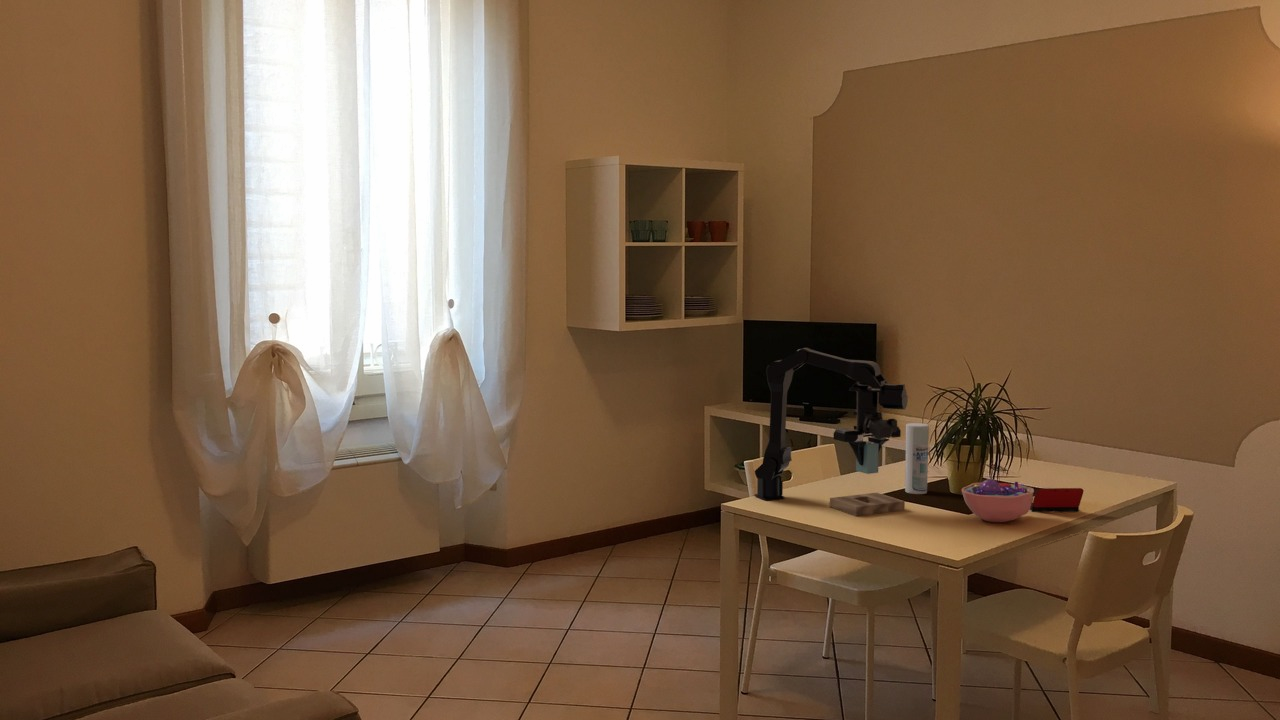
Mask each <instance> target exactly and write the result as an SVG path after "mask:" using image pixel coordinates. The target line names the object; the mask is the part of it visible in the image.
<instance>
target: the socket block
mask: <svg viewBox="0 0 1280 720" xmlns="http://www.w3.org/2000/svg"><path fill="white" fill-rule="evenodd" d="M905 504H906V502H905V500H901V499H898V498H895V497H892V496H889V495H886V494H883V493H879V492H870V493H861V494H854V495H845V496H835V497H829V507H830V508H831V507H833V508H832V509H834V508H835V509H834V510H837V509H838V510H837V511H841V512H843V513H846V514H849V515H851V516H854V517H862V516H870V515H877V514H885V513H893V512H894V513H895V512H901V511H903V512H904V511H905V507H906V506H905Z"/></svg>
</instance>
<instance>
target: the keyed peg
mask: <svg viewBox="0 0 1280 720" xmlns="http://www.w3.org/2000/svg"><path fill="white" fill-rule="evenodd" d="M863 441H866V444H865V445H864V461H863V465H860V464H859V462H858V460H857V458H856V457H855V463H856V464H855V471H856V472H859V473H862V474H866V475H870V474H878V473H879V454H878V443H874V442H870V441H868V440H865V439H863Z"/></svg>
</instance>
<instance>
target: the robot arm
mask: <svg viewBox="0 0 1280 720" xmlns="http://www.w3.org/2000/svg"><path fill="white" fill-rule="evenodd" d="M805 364H807V365H811V366H815V367H818V368H822V369H825V370H829V371H833V372H837V373H840V374H843V375H845V376H846V377H848V378H850V379H852V380H854V381H856V382H854V384H852V386H851V387H849V389H848V390H849V392H856V410H854V411H853V415H855V416H856V425H853V429H850V428H837V429H835V430H834V431H833V440H835V441H839V442H843V443H848V444H849V446H850V448H851V449H852V451H853V453H854V455H855V459H856V458H857V460H858V462H859V464H860V465H863V461H864V445H865V444H866V441H870V442H874V443H878V455H879V453H880V451H881V448H882V446H883V445H884V444H885V443H886V442H889V441H890V438H901V437H902V436H901V434H902V431H901V428H900V427H899V426H898V420H897V419H895V418H888V419H884V418H883V414H882V412H881V411H879V405H880V406H881V407H882V409H885V410H902V411H903V410H906V409H907V407H908V398H909V396H908V394H907V389H906V384H905V383H898V384H892V383H891V384H890V383H889V382H888V381H887V380H886V378H885V377H884V376H883V374H882V373H881V371H882V370H881V367H880V365H879V363H878V362H875V361H871V360H862V359H860V360H859V359H847V358H843V357H840V356H836V355H832V354H828V353H824V352H822V351H817V350H815V349H811V348H809V347H803V348H799V349H797V350H796V351H795V352H794V353H792V354H790V355H789V356H786V357H785V358H783V359H780V360H773V361H772V362H770V363H769V364H768V365H767V367H766V370H765V371H766V377H767V378H766V381H767V384H768V387H769V390H770V407H769V409H770V410H769V412H770V413H769V436H768V443H767V445H766V448H765V451H764V454H763V459H762V464H761V465H760V466H759V467H758V468H756V469H755V470H754V474H755V477H756V478H757V486H756V487H757V488H756V490H757V493H754V497H755V498H759V499H761V500H764V501H772V500H779V499H781V500H782V499H785V496H784V495H783V488H784V486H783V484H784V482H783V480H782V475H783V473H784V471H785V470H786V469H787V468H788V467H789V465H790V463H791V462H792V461H793V460H792V450H793V448H792V447H791V446H789V447H788V445H787V441H786V429H787V428H786V427H787V424H786V423H787V408H788V407H787V404H788V399H787V398H788V390H789V388H790V386H791V383H792V380H793V376H794V372H795V371H797V370H798V369H799V368H801V367H802V366H803V365H805ZM864 437H865V438H866V437H867V439H868V440H865V441H863V440H864Z"/></svg>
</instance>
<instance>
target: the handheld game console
mask: <svg viewBox="0 0 1280 720" xmlns="http://www.w3.org/2000/svg"><path fill="white" fill-rule="evenodd" d="M1083 494H1084V489H1083V488H1081V487H1074V488H1073V487H1071V488H1069V487H1068V488H1067V487H1060V488H1059V487H1058V488H1057V487H1056V488H1055V487H1052V488H1049V487H1047V488H1044V487H1043V488H1042V487H1041V488H1037V489H1036V490H1035V494H1034V496H1033V501H1032V504H1031V507H1030V510H1029V511H1031V512H1033V513H1038V512H1039V513H1049V512H1051V513H1052V512H1057V513H1058V512H1060V513H1078V512H1079V510H1080V504H1081V501H1082V498H1083Z"/></svg>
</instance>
